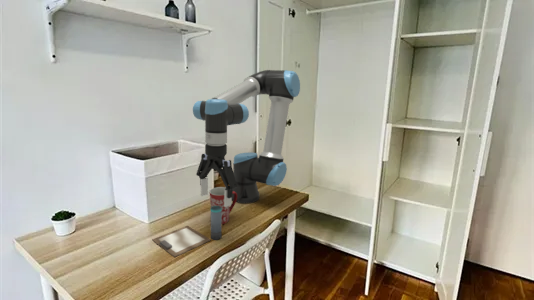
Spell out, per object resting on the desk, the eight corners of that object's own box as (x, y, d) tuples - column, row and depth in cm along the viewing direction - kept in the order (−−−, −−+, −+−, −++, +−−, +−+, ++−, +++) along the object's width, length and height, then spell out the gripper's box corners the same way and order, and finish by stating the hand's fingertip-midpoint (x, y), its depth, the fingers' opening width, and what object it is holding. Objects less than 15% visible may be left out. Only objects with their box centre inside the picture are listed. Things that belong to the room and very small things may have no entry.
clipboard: (187, 226, 118) (187, 223, 118) (210, 240, 109) (210, 237, 109) (152, 240, 107) (152, 236, 107) (174, 257, 98) (174, 253, 98)
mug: (215, 227, 118) (215, 196, 115) (205, 218, 125) (205, 189, 122) (242, 219, 126) (242, 190, 123) (231, 212, 133) (231, 184, 130)
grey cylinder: (216, 233, 114) (216, 204, 111) (223, 237, 112) (223, 208, 109) (208, 237, 111) (208, 208, 108) (215, 241, 109) (215, 211, 106)
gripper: (186, 139, 108) (187, 193, 113) (231, 151, 92) (230, 214, 97) (203, 137, 114) (203, 188, 118) (248, 148, 98) (246, 207, 102)
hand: (215, 200), depth 108 cm, fingers open, 13 cm apart
